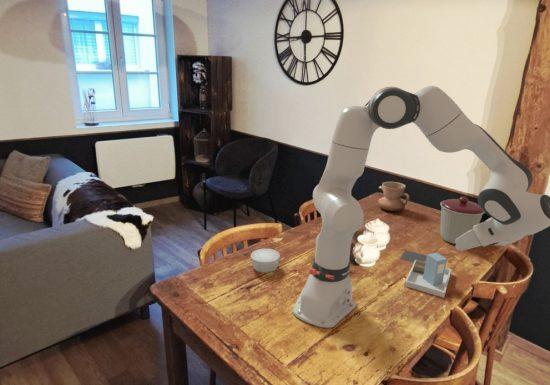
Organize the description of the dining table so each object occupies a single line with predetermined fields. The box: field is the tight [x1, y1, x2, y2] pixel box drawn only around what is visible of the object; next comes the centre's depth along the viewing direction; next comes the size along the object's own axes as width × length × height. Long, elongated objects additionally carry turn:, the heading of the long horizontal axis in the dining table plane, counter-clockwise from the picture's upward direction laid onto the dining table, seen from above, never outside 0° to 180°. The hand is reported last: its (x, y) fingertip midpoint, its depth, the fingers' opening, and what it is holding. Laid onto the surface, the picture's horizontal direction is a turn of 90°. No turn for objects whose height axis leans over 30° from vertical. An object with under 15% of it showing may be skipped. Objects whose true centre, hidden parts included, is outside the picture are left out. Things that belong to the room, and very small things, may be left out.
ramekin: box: [250, 248, 281, 274], centre depth 144 cm, size 11×11×5 cm
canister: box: [439, 196, 486, 245], centre depth 168 cm, size 18×18×21 cm
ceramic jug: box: [377, 181, 410, 212], centre depth 204 cm, size 18×14×14 cm
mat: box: [399, 249, 427, 263], centre depth 153 cm, size 9×9×1 cm
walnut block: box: [413, 260, 426, 274], centre depth 143 cm, size 5×5×2 cm
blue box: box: [423, 252, 448, 286], centre depth 135 cm, size 5×4×10 cm
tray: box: [404, 260, 452, 298], centre depth 137 cm, size 18×13×3 cm
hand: (468, 245), depth 121 cm, fingers open, 8 cm apart
